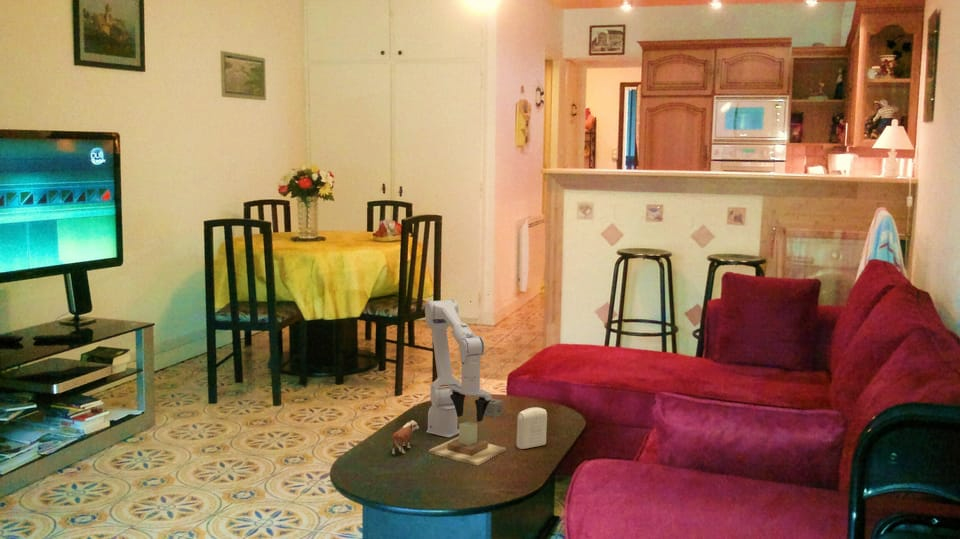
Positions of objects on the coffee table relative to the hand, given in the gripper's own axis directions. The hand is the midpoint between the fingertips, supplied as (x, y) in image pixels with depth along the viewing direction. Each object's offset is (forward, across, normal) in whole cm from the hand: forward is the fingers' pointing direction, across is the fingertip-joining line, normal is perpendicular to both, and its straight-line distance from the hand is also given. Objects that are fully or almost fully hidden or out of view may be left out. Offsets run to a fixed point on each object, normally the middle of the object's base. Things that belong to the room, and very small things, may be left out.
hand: (469, 418), depth 269 cm
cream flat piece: (+10, 0, +1) cm, 10 cm away
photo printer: (+11, -13, -16) cm, 23 cm away
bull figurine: (+11, +16, +12) cm, 23 cm away
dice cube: (+11, +15, -36) cm, 40 cm away
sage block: (+7, 0, +1) cm, 7 cm away
